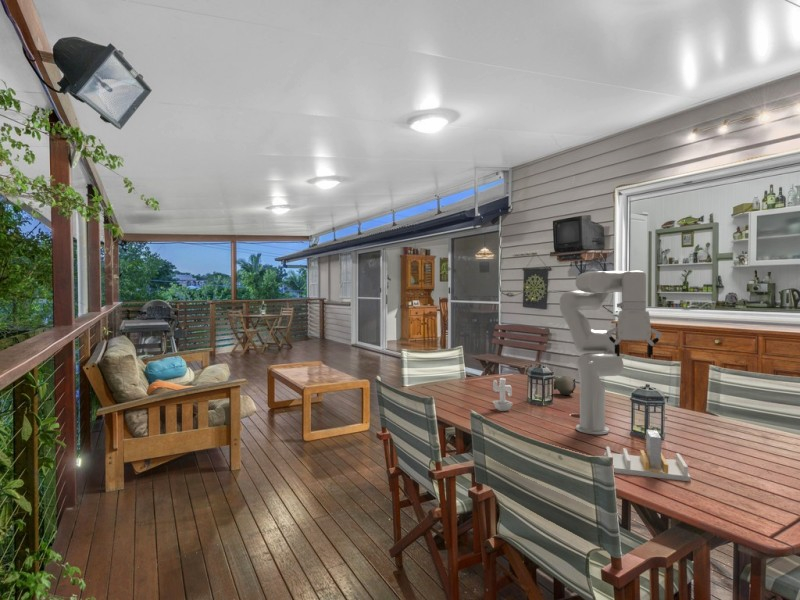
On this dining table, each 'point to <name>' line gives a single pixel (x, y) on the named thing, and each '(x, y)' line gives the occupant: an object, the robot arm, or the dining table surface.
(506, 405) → the figurine
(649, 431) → the panel
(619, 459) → the rack
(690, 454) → the dining table surface
